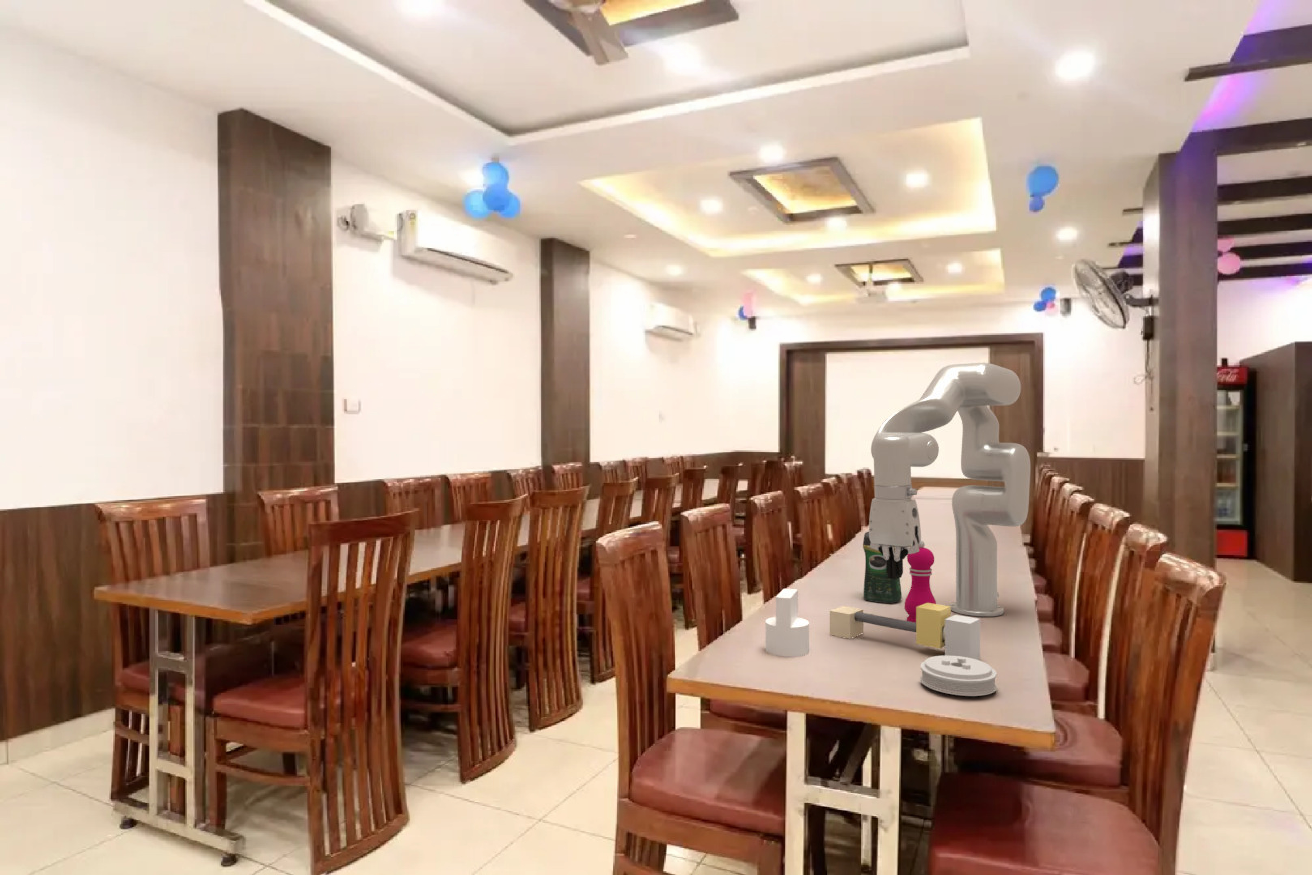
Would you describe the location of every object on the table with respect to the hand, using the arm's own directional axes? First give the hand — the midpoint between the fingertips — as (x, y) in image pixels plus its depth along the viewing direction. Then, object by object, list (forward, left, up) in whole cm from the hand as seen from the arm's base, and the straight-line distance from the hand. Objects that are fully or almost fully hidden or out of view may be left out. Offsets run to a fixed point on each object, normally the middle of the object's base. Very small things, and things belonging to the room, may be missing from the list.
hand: (894, 577), depth 162 cm
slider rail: (+1, +2, -14) cm, 14 cm away
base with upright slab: (+20, -14, -14) cm, 28 cm away
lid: (+18, +21, -15) cm, 31 cm away
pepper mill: (-17, -2, -14) cm, 22 cm away
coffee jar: (-35, -21, -14) cm, 43 cm away
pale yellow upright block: (+1, +9, -12) cm, 15 cm away
